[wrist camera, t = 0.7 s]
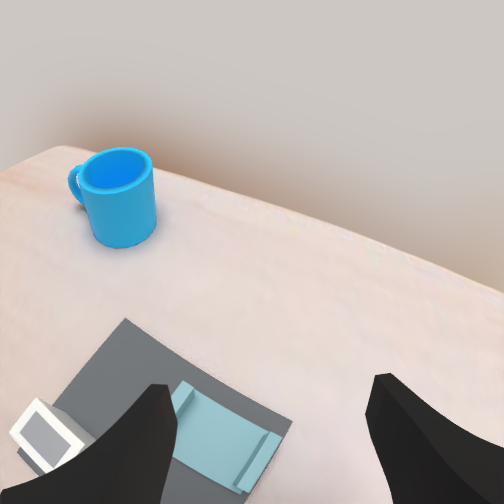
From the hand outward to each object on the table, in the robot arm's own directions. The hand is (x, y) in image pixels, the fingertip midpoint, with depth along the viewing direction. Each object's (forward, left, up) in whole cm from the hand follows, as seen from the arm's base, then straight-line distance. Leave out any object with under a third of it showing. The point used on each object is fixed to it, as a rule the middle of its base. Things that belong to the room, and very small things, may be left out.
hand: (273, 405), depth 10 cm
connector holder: (-1, +1, -16) cm, 16 cm away
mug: (+13, +25, -17) cm, 33 cm away
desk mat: (-5, +5, -17) cm, 18 cm away
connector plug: (-9, +10, -16) cm, 21 cm away
